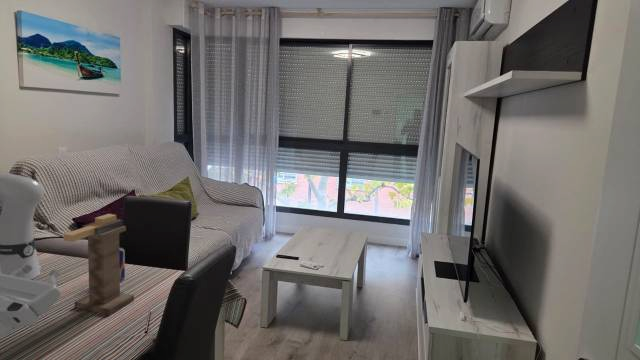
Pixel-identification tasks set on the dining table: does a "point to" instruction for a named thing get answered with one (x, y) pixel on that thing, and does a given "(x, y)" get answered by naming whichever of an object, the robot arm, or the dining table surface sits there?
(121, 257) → the energy drink
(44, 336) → the dining table surface
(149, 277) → the dining table surface
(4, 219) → the robot arm
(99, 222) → the wooden stick
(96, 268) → the holder stand
